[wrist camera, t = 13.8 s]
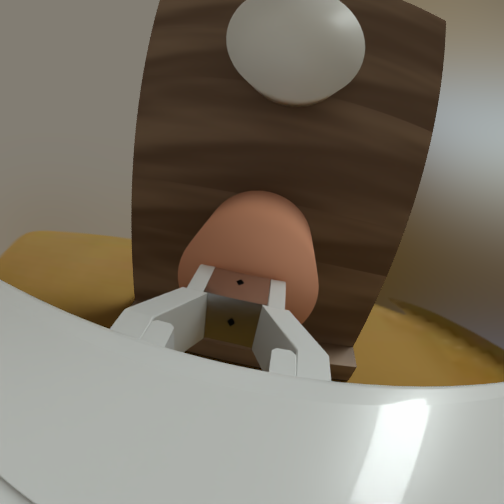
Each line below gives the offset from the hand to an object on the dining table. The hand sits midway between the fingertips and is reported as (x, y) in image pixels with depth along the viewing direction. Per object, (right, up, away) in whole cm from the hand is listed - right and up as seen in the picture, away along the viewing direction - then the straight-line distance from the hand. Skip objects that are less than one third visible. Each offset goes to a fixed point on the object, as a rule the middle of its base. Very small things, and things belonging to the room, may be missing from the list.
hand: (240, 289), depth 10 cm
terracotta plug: (0, 0, +6) cm, 6 cm away
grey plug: (+2, +9, +3) cm, 10 cm away
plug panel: (0, -5, +11) cm, 12 cm away
